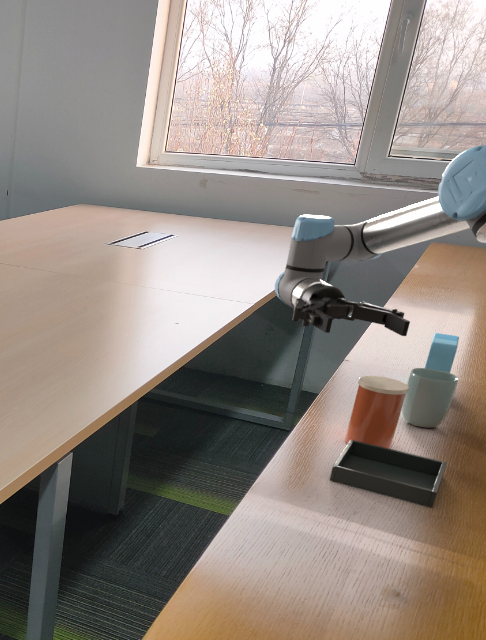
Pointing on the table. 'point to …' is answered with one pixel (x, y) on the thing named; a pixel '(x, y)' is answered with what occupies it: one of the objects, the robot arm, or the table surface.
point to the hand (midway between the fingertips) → (367, 327)
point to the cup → (428, 397)
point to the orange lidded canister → (376, 410)
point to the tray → (389, 472)
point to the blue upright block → (442, 352)
